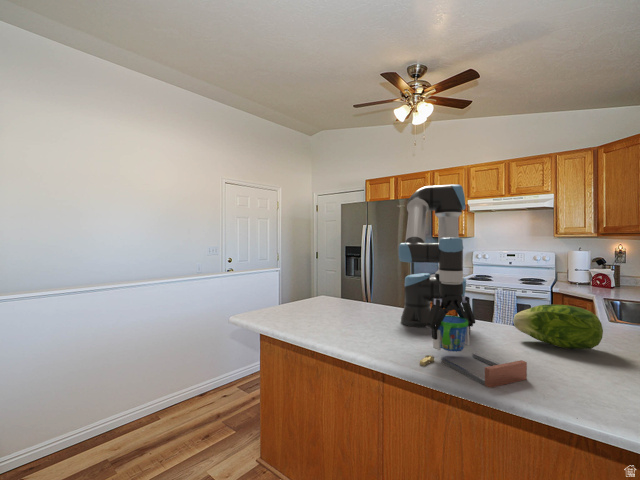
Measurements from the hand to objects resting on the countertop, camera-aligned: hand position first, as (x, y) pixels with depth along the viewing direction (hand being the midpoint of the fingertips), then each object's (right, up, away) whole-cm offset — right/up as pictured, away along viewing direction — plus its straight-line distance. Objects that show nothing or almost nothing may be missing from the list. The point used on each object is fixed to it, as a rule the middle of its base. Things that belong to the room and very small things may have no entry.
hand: (451, 346), depth 107 cm
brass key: (-11, -4, -5) cm, 12 cm away
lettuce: (+43, -3, +9) cm, 44 cm away
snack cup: (0, -1, 0) cm, 1 cm away
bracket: (+4, -3, -11) cm, 12 cm away
